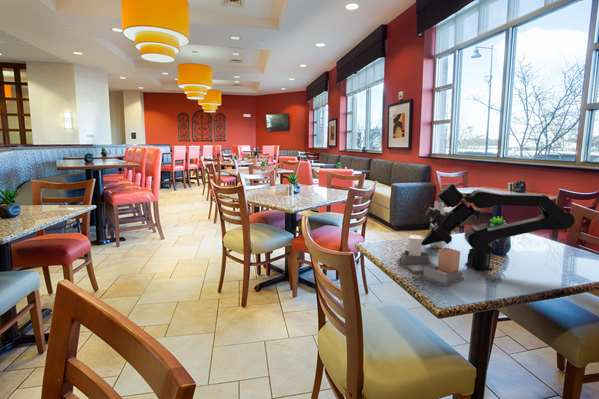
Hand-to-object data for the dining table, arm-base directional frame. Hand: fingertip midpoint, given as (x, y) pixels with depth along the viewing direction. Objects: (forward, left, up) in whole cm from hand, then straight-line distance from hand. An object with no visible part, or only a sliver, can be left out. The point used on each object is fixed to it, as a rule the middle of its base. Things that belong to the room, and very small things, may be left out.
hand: (421, 244), depth 126 cm
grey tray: (+2, +8, -7) cm, 11 cm away
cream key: (+2, -1, -5) cm, 6 cm away
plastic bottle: (-16, -16, -7) cm, 23 cm away
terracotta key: (0, +16, -5) cm, 17 cm away
